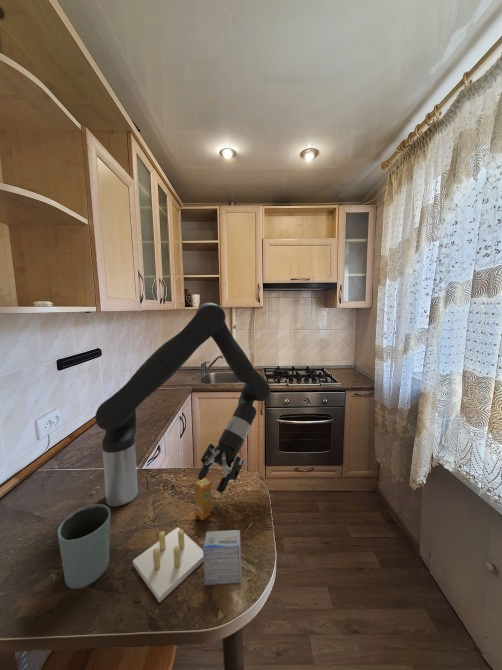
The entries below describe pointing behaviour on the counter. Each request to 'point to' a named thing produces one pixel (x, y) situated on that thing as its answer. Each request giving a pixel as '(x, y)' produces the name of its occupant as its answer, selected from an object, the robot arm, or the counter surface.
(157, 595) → the pin plate
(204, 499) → the supplement box
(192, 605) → the counter surface
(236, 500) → the counter surface
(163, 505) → the counter surface
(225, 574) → the medicine box
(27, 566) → the counter surface
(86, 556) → the teal embossed cup
